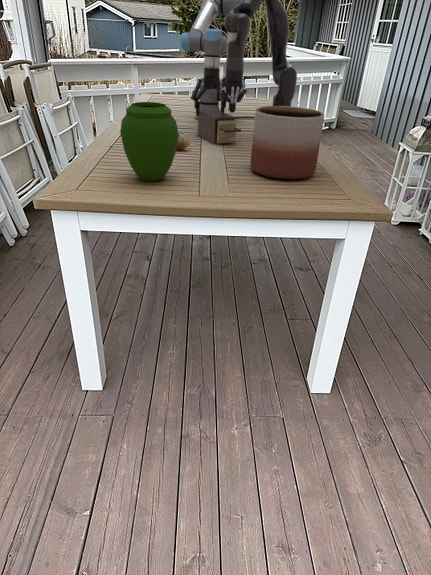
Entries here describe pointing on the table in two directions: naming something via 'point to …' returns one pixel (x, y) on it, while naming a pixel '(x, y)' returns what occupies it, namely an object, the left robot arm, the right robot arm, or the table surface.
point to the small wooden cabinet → (210, 124)
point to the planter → (286, 142)
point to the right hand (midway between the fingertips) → (231, 112)
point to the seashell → (182, 141)
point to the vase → (149, 139)
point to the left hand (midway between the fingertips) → (210, 115)
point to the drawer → (226, 131)
